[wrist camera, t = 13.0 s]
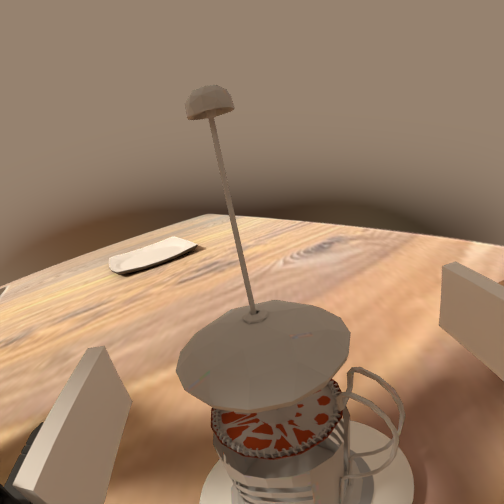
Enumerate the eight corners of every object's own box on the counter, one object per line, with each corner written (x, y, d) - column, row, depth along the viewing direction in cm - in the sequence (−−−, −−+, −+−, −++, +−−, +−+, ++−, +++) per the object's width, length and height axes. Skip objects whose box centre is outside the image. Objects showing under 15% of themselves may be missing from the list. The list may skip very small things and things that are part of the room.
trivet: (173, 488, 20) (165, 479, 20) (312, 403, 29) (311, 392, 28) (289, 622, 7) (286, 622, 7) (448, 475, 15) (454, 464, 15)
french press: (267, 430, 24) (191, 118, 17) (399, 452, 18) (392, 69, 11) (205, 513, 16) (37, 135, 9) (360, 562, 10) (342, -35, 3)
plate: (116, 283, 82) (113, 274, 82) (107, 265, 107) (105, 258, 106) (205, 252, 95) (203, 243, 95) (177, 241, 120) (175, 234, 119)
